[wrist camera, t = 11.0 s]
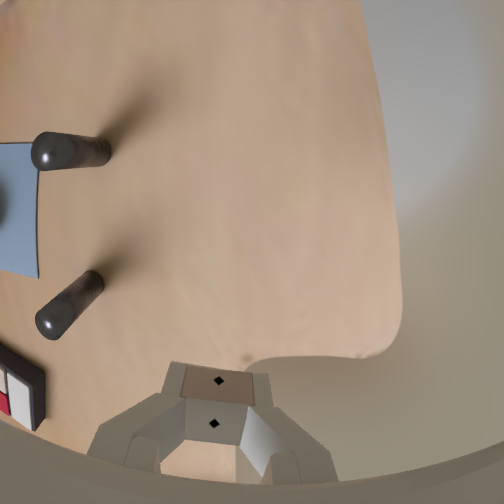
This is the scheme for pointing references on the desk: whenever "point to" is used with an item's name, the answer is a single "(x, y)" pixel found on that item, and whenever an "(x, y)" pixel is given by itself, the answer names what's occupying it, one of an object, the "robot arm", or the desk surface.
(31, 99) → the desk surface
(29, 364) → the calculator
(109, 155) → the inner post
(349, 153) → the desk surface
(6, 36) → the desk surface
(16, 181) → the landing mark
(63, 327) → the outer post
